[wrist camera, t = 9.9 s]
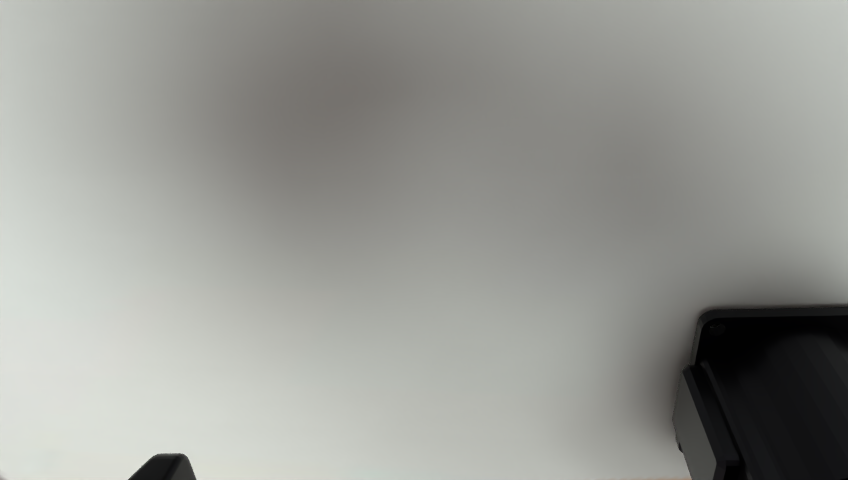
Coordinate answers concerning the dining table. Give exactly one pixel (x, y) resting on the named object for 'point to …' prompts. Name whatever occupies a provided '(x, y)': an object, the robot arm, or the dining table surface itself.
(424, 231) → the dining table surface
